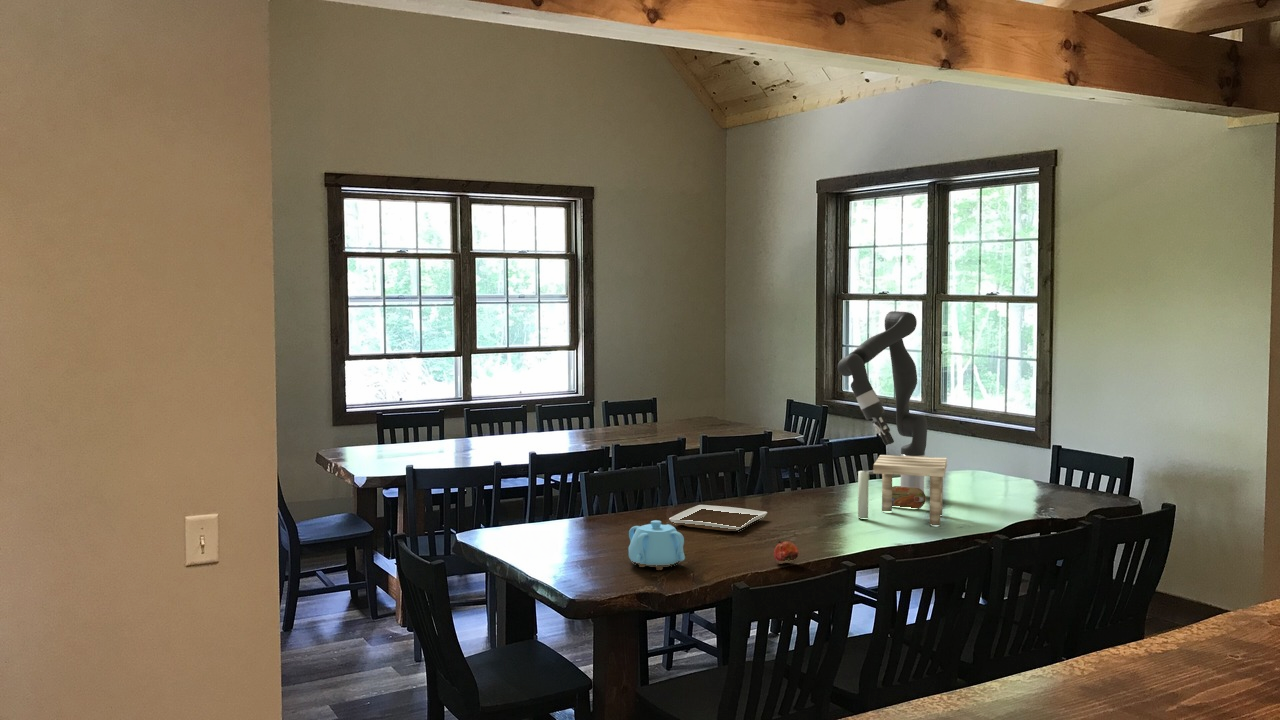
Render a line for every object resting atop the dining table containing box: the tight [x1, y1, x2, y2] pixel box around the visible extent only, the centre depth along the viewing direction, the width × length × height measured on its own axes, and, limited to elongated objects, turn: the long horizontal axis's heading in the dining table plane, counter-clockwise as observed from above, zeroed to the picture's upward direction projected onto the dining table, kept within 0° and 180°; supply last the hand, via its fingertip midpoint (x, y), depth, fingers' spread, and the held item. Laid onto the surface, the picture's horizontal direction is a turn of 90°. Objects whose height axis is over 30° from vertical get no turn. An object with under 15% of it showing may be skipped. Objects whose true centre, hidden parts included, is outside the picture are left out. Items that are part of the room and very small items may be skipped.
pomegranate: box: [773, 540, 800, 561], centre depth 310 cm, size 7×7×10 cm
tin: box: [892, 485, 927, 510], centre depth 391 cm, size 15×3×8 cm, turn 62°
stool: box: [872, 454, 948, 526], centre depth 371 cm, size 24×24×21 cm
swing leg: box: [857, 469, 877, 519], centre depth 373 cm, size 13×4×17 cm, turn 116°
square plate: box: [668, 504, 768, 530], centre depth 366 cm, size 27×27×4 cm
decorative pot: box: [627, 519, 686, 566], centre depth 309 cm, size 16×16×14 cm
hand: (889, 443), depth 382 cm, fingers open, 8 cm apart
